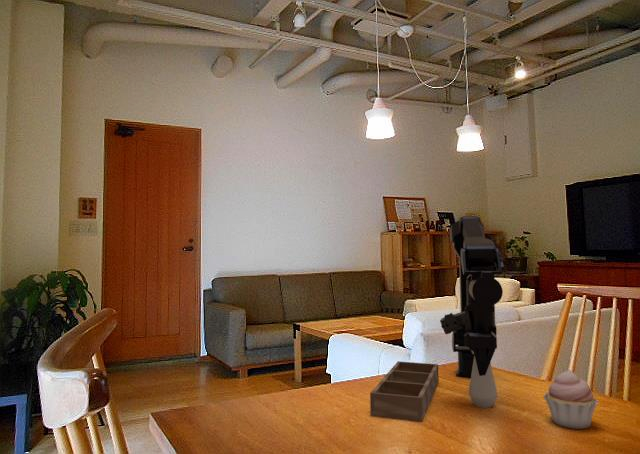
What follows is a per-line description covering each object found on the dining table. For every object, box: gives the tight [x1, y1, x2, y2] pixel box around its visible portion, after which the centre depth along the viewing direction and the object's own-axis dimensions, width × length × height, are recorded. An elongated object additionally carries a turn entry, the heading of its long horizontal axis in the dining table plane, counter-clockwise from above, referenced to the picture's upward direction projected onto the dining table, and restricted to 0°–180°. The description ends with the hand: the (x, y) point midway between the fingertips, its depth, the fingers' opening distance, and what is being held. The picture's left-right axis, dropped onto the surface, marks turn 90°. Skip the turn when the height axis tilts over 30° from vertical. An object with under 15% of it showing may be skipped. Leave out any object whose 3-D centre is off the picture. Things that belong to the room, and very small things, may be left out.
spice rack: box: [369, 361, 440, 423], centre depth 107 cm, size 29×10×4 cm, turn 160°
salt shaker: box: [468, 351, 498, 409], centre depth 102 cm, size 6×6×13 cm
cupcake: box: [543, 369, 599, 430], centre depth 90 cm, size 9×9×10 cm
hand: (482, 373), depth 102 cm, fingers closed on salt shaker, 3 cm apart
